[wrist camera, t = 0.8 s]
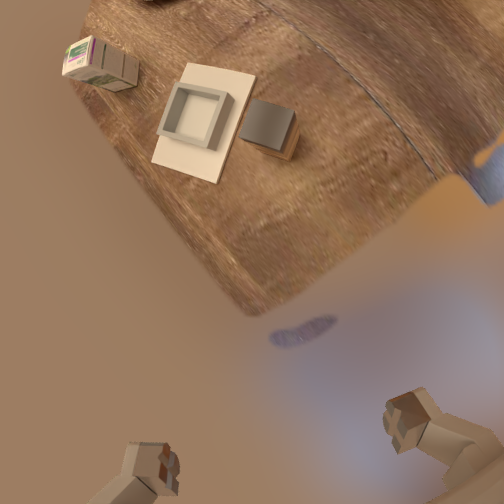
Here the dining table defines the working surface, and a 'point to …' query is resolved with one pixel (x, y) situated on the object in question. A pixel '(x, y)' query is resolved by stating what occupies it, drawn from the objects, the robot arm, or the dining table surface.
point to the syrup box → (100, 65)
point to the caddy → (202, 120)
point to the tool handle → (271, 129)
